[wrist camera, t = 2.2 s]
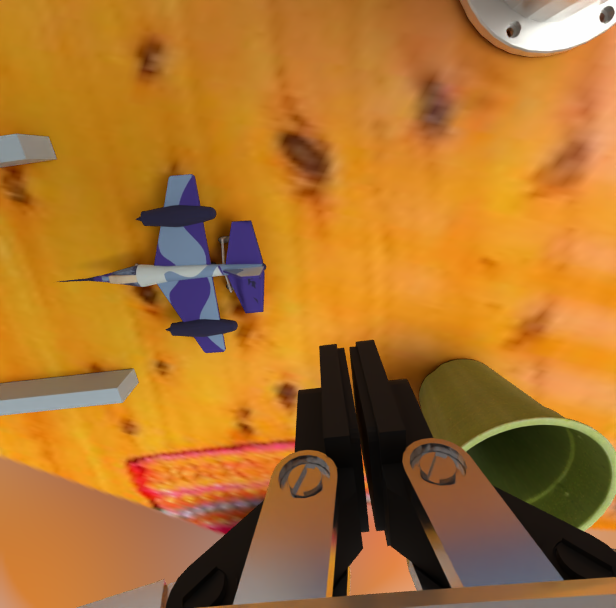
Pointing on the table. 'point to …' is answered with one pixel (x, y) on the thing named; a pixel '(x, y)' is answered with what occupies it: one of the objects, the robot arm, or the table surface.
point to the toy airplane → (196, 265)
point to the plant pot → (521, 442)
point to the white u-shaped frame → (65, 388)
